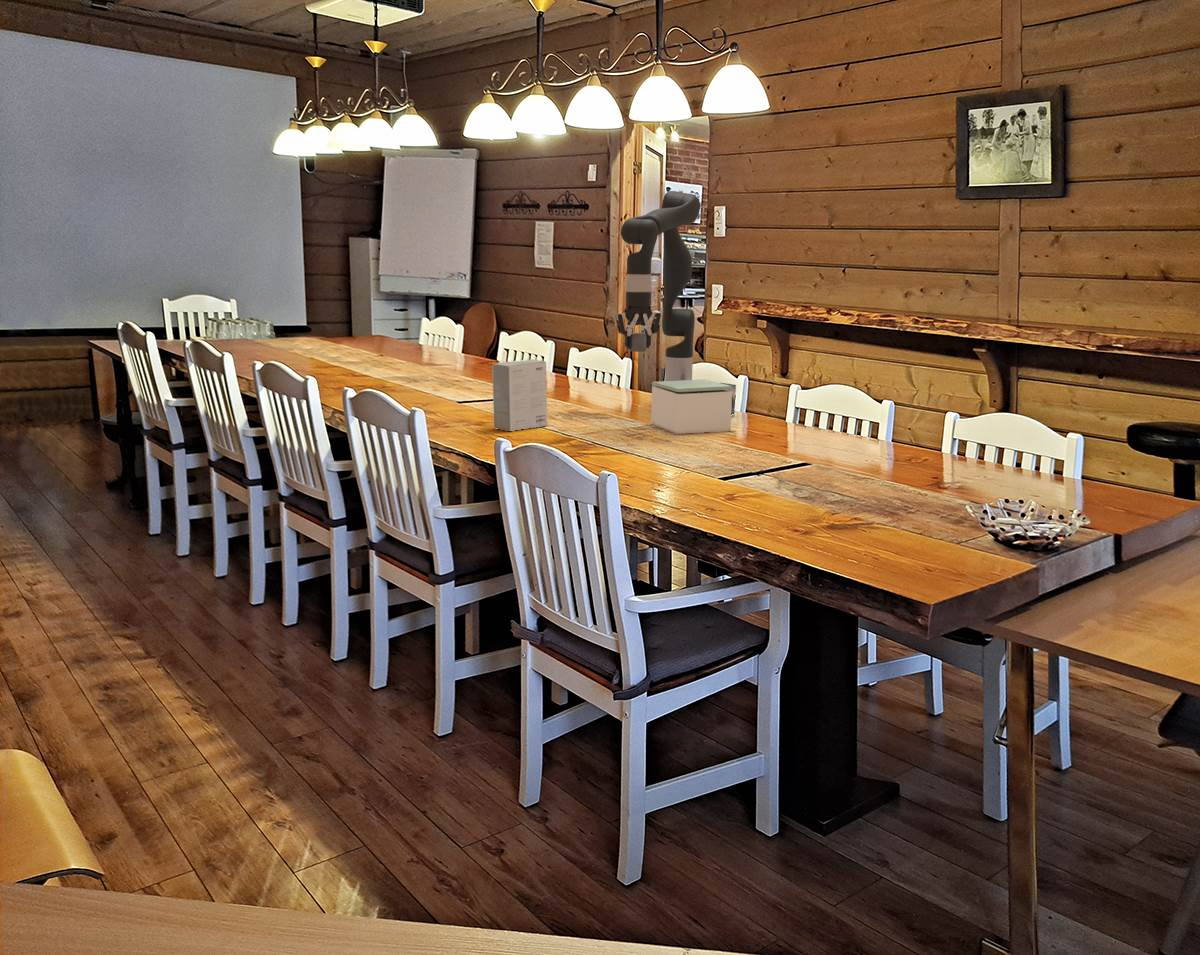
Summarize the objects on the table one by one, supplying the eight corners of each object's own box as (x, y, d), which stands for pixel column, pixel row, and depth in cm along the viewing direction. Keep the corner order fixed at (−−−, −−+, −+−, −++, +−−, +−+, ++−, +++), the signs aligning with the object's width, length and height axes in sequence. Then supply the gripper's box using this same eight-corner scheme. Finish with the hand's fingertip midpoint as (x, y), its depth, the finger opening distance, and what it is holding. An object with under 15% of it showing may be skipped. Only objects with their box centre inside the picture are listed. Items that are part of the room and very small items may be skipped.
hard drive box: (531, 423, 330) (531, 359, 325) (548, 426, 324) (547, 361, 320) (492, 429, 319) (491, 362, 315) (508, 432, 314) (508, 365, 309)
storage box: (651, 424, 329) (652, 386, 327) (702, 421, 336) (704, 383, 333) (676, 434, 313) (678, 394, 310) (730, 431, 320) (732, 391, 317)
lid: (652, 385, 327) (652, 381, 326) (704, 382, 333) (704, 379, 333) (678, 392, 310) (678, 388, 310) (732, 389, 317) (732, 386, 317)
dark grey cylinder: (626, 349, 313) (626, 332, 312) (642, 349, 315) (642, 332, 314) (632, 351, 309) (633, 334, 307) (649, 351, 310) (649, 334, 309)
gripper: (655, 288, 314) (654, 346, 318) (610, 289, 309) (610, 347, 313) (666, 290, 307) (665, 349, 311) (620, 291, 302) (619, 350, 306)
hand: (637, 348), depth 312 cm, fingers closed on dark grey cylinder, 5 cm apart
